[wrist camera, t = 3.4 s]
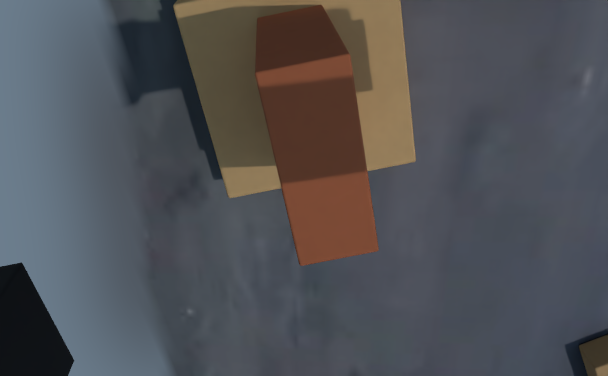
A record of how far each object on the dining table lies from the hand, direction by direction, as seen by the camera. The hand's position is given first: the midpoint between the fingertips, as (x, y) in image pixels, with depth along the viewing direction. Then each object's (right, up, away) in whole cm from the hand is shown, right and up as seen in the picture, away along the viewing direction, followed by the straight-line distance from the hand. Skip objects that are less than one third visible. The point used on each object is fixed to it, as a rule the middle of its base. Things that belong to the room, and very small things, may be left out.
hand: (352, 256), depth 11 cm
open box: (-1, +6, +11) cm, 13 cm away
